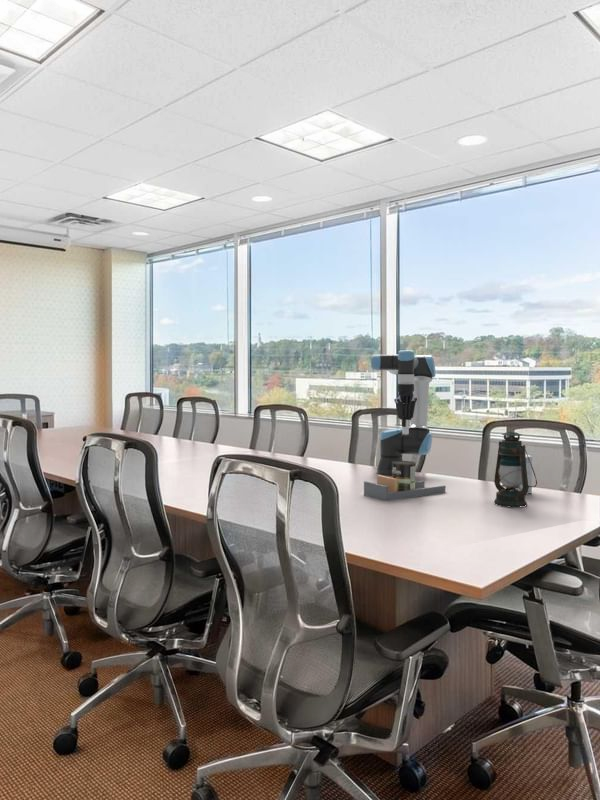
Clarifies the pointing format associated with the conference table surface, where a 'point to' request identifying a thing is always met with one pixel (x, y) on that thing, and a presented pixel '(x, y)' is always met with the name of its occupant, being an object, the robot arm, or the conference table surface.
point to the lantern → (511, 472)
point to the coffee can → (404, 474)
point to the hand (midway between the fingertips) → (405, 433)
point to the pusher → (387, 483)
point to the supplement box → (528, 474)
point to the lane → (382, 491)
